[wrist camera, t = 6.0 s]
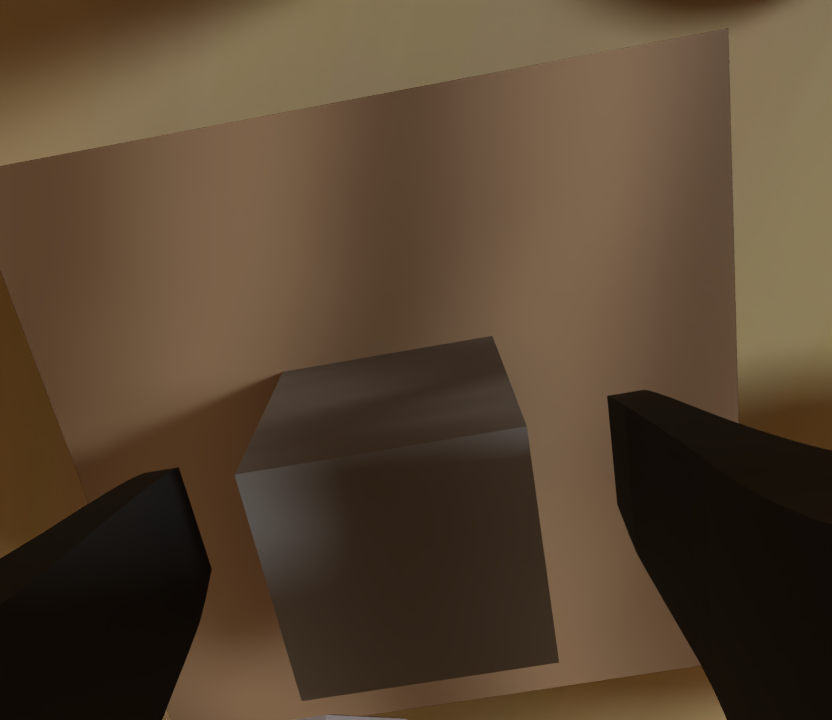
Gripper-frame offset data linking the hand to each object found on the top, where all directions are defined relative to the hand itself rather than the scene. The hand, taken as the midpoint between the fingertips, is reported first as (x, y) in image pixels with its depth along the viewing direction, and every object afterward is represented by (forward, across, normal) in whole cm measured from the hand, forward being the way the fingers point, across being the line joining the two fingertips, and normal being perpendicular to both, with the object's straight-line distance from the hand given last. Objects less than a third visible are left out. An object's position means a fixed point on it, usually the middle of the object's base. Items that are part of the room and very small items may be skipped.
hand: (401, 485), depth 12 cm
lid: (+3, 0, 0) cm, 3 cm away
